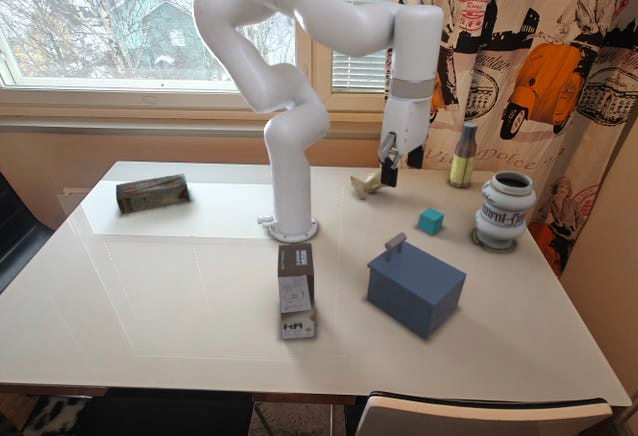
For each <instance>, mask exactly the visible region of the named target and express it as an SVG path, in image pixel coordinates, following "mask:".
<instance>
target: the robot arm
mask: <svg viewBox="0 0 638 436" xmlns="http://www.w3.org/2000/svg"><path fill="white" fill-rule="evenodd" d="M191 11H192V12H191V13H192V19H193V24H194V26H195V30H196V32H197V34H198V36H199V38H200V40H201V42H202V43H203V44H204V46H205V47H206V49H207V50H208V51H209V52H210V53H211V54H212V56H213V57H214V58H215V59H216V60H217V61H218V63H219V64H220V65H221V67H222V68H223V69H224V70H225V72H226V74H227V75H228V77H229V79H230V80H231V82H232V83H233V85H234V87H236V89H237V90H238V92H239V94H240V95H241V97H242V98H243V99H244V101H245V102H246V104H247V105H248V106H249V108H250V109H251V111H253V112H254V113H256V114H259V115H266V114H269V113H273V112H275V111H277V110H280V109H282V108H284V107H285V108H286V110H285V111H282V112H280V113H278V114H276V115H274V116H273V117H271V118H270V119H269V121H267V123H266V125H265V126H264V130H263V140H264V144H265V147H266V150H267V154H268V158H269V165H270V175H271V187H272V198H273V199H272V200H273V210H272V214H268V216H267V215H266V216H257V217H256V220H257V225H262V229H269V233H270V235H271V236H272V237H273V238H274V239H276V240H278V241H281V242H284V243H302V242H304V241H307V240H309V239H311V238H312V237H313V236H315V234H316V233H317V231H318V223H317V220H316V219H315V218H314V217H313V216H312V181H311V180H312V178H311V177H312V176H311V175H312V174H311V171H312V170H311V165H310V162H309V160H308V158H307V157H306V154H305V150H306V149H308V148H309V147H311V146H312V145H315V144H316V143H318V142H319V141H321V140H323V139H324V138H325V137H326V136H327V135H328V134H329V132H330V129H331V119H330V115H329V112H328V111H327V108H326V107H325V105H324V103H323V102H322V100H321V98H320V97H319V96H318V94H317V92H316V91H315V90H314V87H313V86H312V85H311V83H310V81H309V80H308V79H307V77H306V76H305V74H304V73H303V71H302V70H301V69H299V67H297V65H296V66H295V65H294V64H292V63H290V62H279V63H275V64H269V63H268V62H267V61H266V60H265V59H264V57H263V56H262V55H261V53H260V52H259V50H258V48H257V47H256V46H255V44H253V42H251V40H250V39H248V38H247V37H245V36H244V35H243V34H241V33H240V32H238V31H237V30H236V28H241V27H247V26H252V25H258V24H260V23H263V22H265V21H267V20H268V19H270V18H271V17H273V16H275V14H277V13H279V14H282V15H284V16H286V17H288V18H290V19H292V20H294V21H297V22H298V23H299V25H300V27H301V29H302V30H303V31H304V32H305V33H306V35H308V37H309V38H310V39H311V40H313V41H314V42H315V43H317V44H319V45H321V46H323V47H325V48H328V49H330V50H332V51H334V52H336V53H338V54H340V55H342V56H345V57H350V58H364V57H367V56H369V55H373V54H375V53H378V52H381V51H385V50H390V49H392V52H391V65H390V76H389V89H388V97H387V99H386V105H385V106H384V113H383V118H382V123H381V133H380V139H379V140H380V141H379V147H378V148H377V151H376V153H377V156H378V162H379V165H380V166H381V169H380V172H381V183H382V184H384V185H387V186H390V188H393V189H394V188H396V187H397V183H398V176H399V175H398V174H399V167H397V166H398V164H399V162H400V159H401V157H402V156H403V157H404V156H405V155H407V159H406V166H407V167H411V168H414V169H416V170H421V169H422V168H423V163H424V157H425V149H427V144H426V142H427V139H429V133H430V129H431V126H432V123H431V122H430V118H431V107H432V99H433V98H434V93H435V92H434V91H435V85H436V79H437V78H436V77H437V70H438V64H439V56H440V50H441V42H442V36H443V29H444V21H445V13H444V10H443V9H442V8H441V7H440V6H438V5H434V4H433V5H432V4H403V3H398V2H394V1H390V0H389V1H388V0H380V1H374V2H368V3H362V4H354V3H353V4H352V3H350V2H347V1H345V0H192V4H191ZM394 149H396V150H394ZM390 155H392V156H394V158H393V159H391V157H390Z"/></svg>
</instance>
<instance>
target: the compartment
mask: <svg viewBox="0 0 638 436" xmlns="http://www.w3.org/2000/svg"><path fill="white" fill-rule="evenodd" d="M368 274H369V275H368V284H367V295H366V301H367V302H369V303H371V304H372V305H374V307H377V308H378V309H379V310H381V311H382V312H383V313H385V314H387V315H388V316H389V317H391V318H392V319H394V320H395V321H396V322H398V323H399V324H401V325H403V326H404V327H405V328H407V329H408V330H410V331H411V332H412V333H414V334H416V336H418V337H420V338H422V339H423V340H424V341H427V340H429V338H430V337H431V336H432V335H433V334H434V333H435V332H436V331H437V330H438V329H439V327H441V325H442V324H443V323H445V321H446V320H447V319H448V318H449V317H450V316H451V315H452V314H453V313H454V312H455V311H456V310H458V309H457V308H458V305H459V301H460V299H461V295H462V292H463V289H464V285H465V282H466V278H467V276H466V277H465V278H464V279H463V280H462V281H461V282H460V283H459V284H458V285H457V286H456V287H455V288H454V289H453V290H452V291H451V292H450V293H449V294H448V295H447V296H446V297H445V298H444V299H443V300H442V301H441V302H440V303H439V304H438V305H437V306H436V307H435V308H432V307H431V306H429V305H428V304H426V303H424V302H423V301H421V300H420V299H418V298H416V297H415V296H413V295H412V294H410V293H408V292H407V291H405V290H404V289H402V288H400V287H399V286H397V285H396V284H394V283H392V282H391V281H389V280H388V279H386V278H384V277H383V276H381V275H379V274H378V273H376V272H375V271H373V270H371V269H370V268H369V273H368Z"/></svg>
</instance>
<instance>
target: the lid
mask: <svg viewBox="0 0 638 436" xmlns="http://www.w3.org/2000/svg"><path fill="white" fill-rule="evenodd" d="M384 248H385V251H383V252H381V253H380V254H379V255H377V257H374V259H372V260H370V262H368V263H367V264H366V267H367V268H368V269H369V270H370V269H371V270H373V271H375V272H376V273H378V274H379V275H381V276H383V277H384V278H386V279H388V280H389V281H391V282H392V283H394V284H396V285H397V286H399V287H400V288H402V289H404V290H405V291H407V292H408V293H410V294H412V295H413V296H415V297H416V298H418V299H420V300H421V301H423V302H424V303H426V304H428V305H429V306H431V307H432V308H435V307H436V306H437V305H438V304H439V303H440V302H441V301H442V300H443V299H444V298H445V297H446V296H447V295H448V294H449V293H450V292H451V291H452V290H453V289H454V288H455V287H456V286H457V285H458V284H459V283H460V282H461V281H462V280H463V279H464V278H465V277H466V278H467V276H468V273H466V272H465V271H462V270H460V269H458V268H456V267H454V266H453V265H451V264H449V263H447V262H445V261H443V260H442V259H439V258H438V257H436V256H434V255H432V254H430V253H429V252H427V251H425V250H422V249H420V248H419V247H417V246H416V245H413V244H411V243H409V242H408V241H407V234H406V233H405V232H399V233H398V234H396V235H395V236H393V237H392V238H391V239H389V240H388V241H386V242H385V243H384Z"/></svg>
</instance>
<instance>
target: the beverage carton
mask: <svg viewBox="0 0 638 436" xmlns="http://www.w3.org/2000/svg"><path fill="white" fill-rule="evenodd" d="M115 199H116V203H117V206H118V210H119V212H120V214H121V215H122V216H123V215H124V216H125V215H128V214H134V213H138V212H143V211H149V210H155V209H159V208H164V207H169V206H174V205H178V204H184V203H188V202H189V203H190V202H191V195H190V192H189V188H188V181H187V177H186V176H185V174H184V173H179V174H173V175H167V176H166V175H165V176H161V177H155V178H154V177H153V178H148V179H142V180H137V181H136V180H135V181H130V182H124V183H120V184H116V185H115Z"/></svg>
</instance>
